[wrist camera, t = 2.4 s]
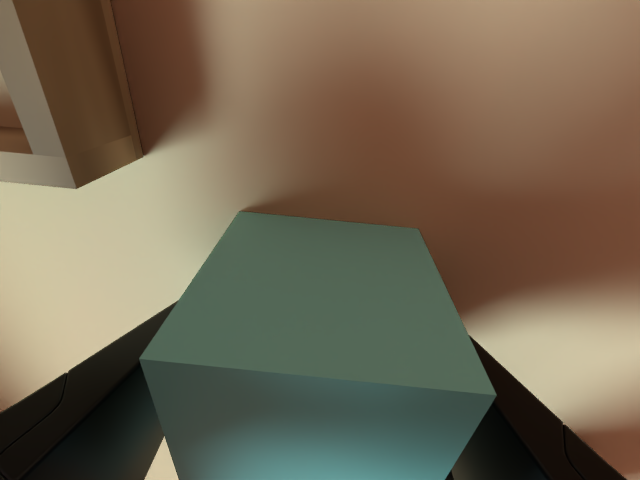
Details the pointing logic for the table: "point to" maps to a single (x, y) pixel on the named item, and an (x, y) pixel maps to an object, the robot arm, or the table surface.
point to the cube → (316, 358)
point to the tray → (63, 94)
